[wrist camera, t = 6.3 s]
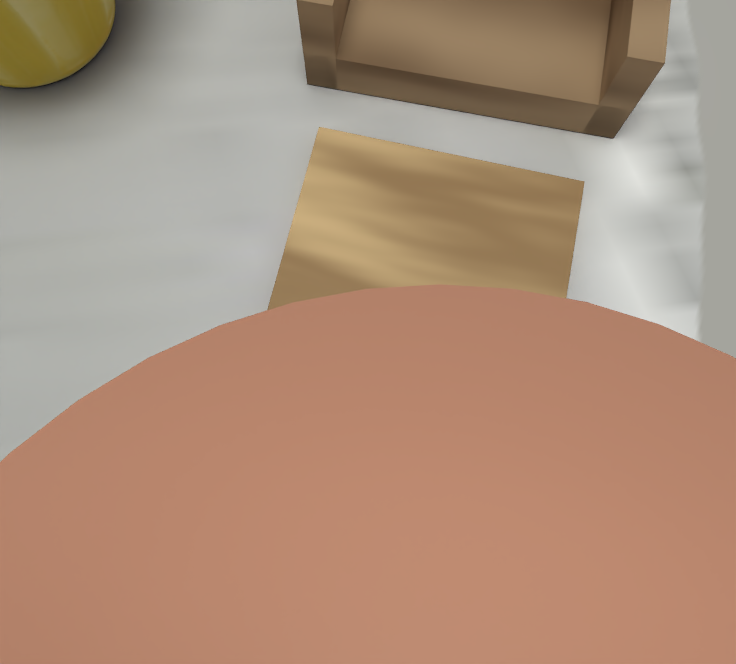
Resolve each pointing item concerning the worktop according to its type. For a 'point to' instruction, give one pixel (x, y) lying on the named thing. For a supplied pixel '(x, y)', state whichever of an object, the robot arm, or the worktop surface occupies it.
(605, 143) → the worktop surface
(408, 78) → the open wooden box
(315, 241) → the brown wooden flat block
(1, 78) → the plant pot
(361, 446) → the post
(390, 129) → the worktop surface
